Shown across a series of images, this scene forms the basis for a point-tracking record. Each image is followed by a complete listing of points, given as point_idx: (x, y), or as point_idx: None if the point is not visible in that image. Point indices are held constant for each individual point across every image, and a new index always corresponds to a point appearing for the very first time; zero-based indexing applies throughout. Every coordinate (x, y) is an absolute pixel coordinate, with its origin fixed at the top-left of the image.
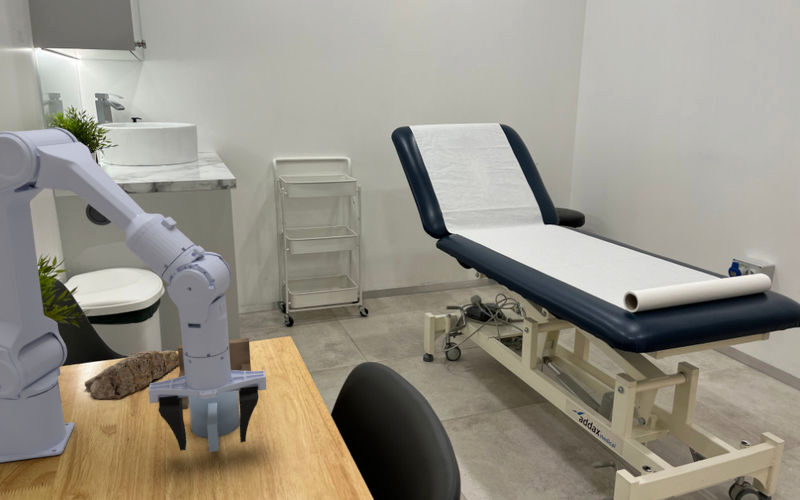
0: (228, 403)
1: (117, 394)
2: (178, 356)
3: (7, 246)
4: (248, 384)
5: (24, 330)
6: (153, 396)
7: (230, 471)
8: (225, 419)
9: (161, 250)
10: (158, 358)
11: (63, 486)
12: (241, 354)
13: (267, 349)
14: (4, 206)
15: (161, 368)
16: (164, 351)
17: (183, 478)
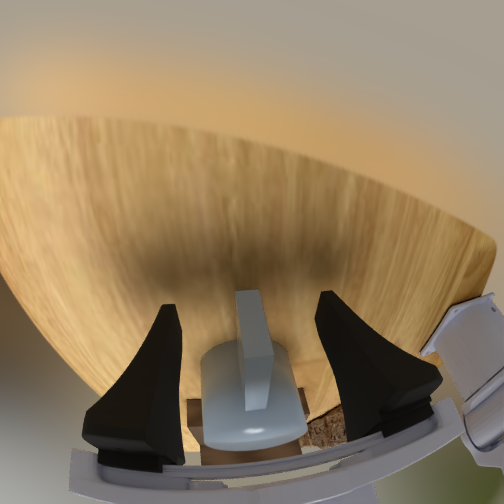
0: (219, 406)
1: None
2: (301, 453)
3: None
4: (120, 489)
5: None
6: (451, 417)
7: (201, 226)
8: (225, 372)
9: None
10: (319, 441)
11: (469, 243)
12: (213, 458)
13: (188, 445)
14: None
15: (314, 430)
16: (309, 446)
17: (318, 220)
